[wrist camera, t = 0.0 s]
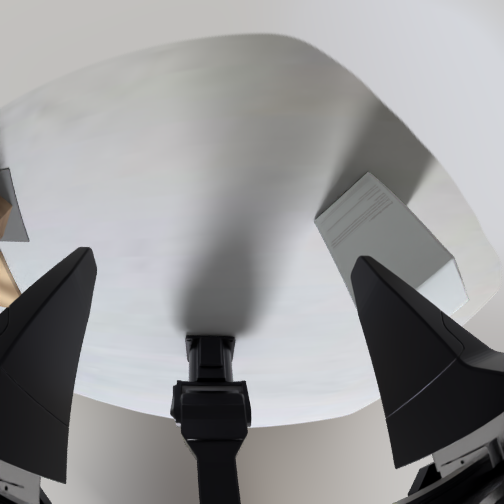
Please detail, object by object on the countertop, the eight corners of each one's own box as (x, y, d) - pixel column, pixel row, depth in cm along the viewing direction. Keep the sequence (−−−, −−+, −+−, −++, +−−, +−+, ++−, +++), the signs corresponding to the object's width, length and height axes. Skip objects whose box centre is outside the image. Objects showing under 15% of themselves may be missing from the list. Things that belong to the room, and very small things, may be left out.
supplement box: (352, 257, 30) (400, 354, 20) (311, 219, 26) (362, 330, 16) (403, 214, 27) (471, 301, 17) (369, 167, 23) (456, 257, 13)
